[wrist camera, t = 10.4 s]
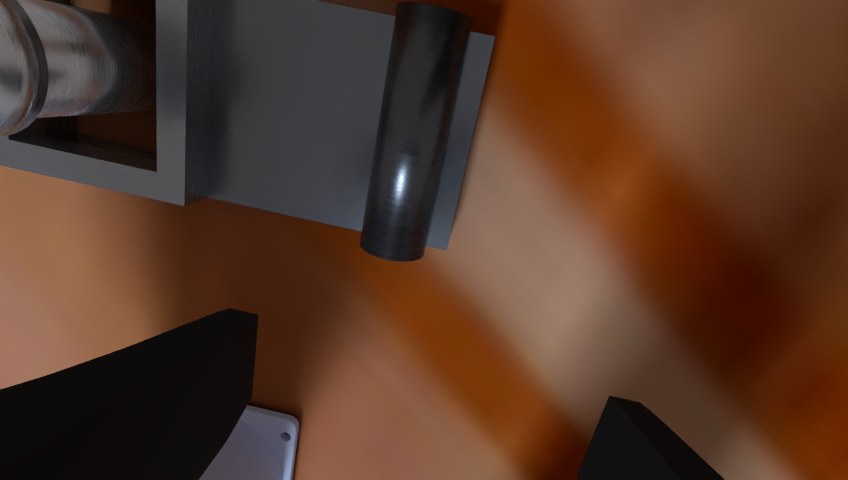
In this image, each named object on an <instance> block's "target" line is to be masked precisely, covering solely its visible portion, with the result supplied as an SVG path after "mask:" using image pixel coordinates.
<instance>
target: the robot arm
mask: <svg viewBox="0 0 848 480" xmlns="http://www.w3.org/2000/svg"><path fill="white" fill-rule="evenodd" d="M257 326H258V315H257V314H253V313H248V312H244V311H239V310H235V309H231V308H229V309H226V310H223V311H219V312H217V313H214V314H211V315H208V316H206V317H203V318H200V319H198V320H195V321H193V322H190V323H188V324H185V325H183V326H180V327H178V328H175V329H173V330H170V331H167V332H165V333H162V334H160V335H157V336H155V337H152V338H149V339H147V340H144V341H142V342H139V343H137V344H134V345H131V346H129V347H126V348H124V349H121V350H118V351H115V352H112V353H109V354H107V355H104V356H101V357H98V358H95V359H92V360H90V361H87V362H84V363H81V364H78V365H75V366H73V367H70V368H67V369H64V370H61V371H58V372H56V373H53V374H49V375H46V376H43V377H40V378H37V379H34V380H31V381H27V382H24V383H21V384H17V385H14V386H11V387H7V388H4V389H0V480H292V479H293V471H294V463H295V455H296V448H297V440H298V432H299V422H298V420H297V419H296V418H295V417H294V416H291V415H287V414H283V413H279V412H275V411H271V410H266V409H262V408H258V407H254V406H250V405H248V403H249V401H250V399H251V397H252V388H253V376H254V363H255V351H256V338H257ZM284 432H286V433H288V434H289V435H287V434H285V433H284ZM578 480H724V479H723V478H722V477H721V476H720V475H719V474H718V473H717V472H716V471H715V470H714V469H713V468H712V467H711V466H709V465H708V464H707V463H706V462H705V461H704V460H703V459H702V458H701V457H700V456H699V455H698V454H697V453H696V452H695V451H694V450H692V449H691V448H690V447H689V446H688V445H687V444H686V443H685V442H684V441H683V440H682V439H681V438H680V437H679V436H678V435H677V434H675V433H674V432H673V431H672V430H671V429H670V428H669V427H668V426H667V425H666V424H665V423H664V422H662V421H661V420H660V419H659V418H658V417H657V416H656V415H655V414H653V413H652V412H651V411H650V410H649V409H647V408H646V407H645V406H644V405H642V404H641V403H639V402H635V401H630V400H626V399H622V398H617V397H613V396H609V398H608V400H607V403H606V405H605V408H604V410H603V413H602V415H601V418H600V420H599V422H598V425H597V427H596V430H595V432H594V435H593V437H592V440H591V442H590V445H589V447H588V449H587V452H586V454H585V457H584V459H583V462H582V464H581V467H580V469H579V472H578Z"/></svg>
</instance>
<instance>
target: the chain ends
mask: <svg viewBox="0 0 848 480" xmlns="http://www.w3.org/2000/svg"><path fill="white" fill-rule="evenodd" d="M45 1H50V2H55V3H59V4H64V5H69V2H68V0H45ZM141 1H146V2H151V3H155V4H156V105H157V150H152V149H148V148H143V147H139V146H134V145H130V144H125V143H120V142H116V141H111V140H107V139H102V138H98V137H93V136H88V135H84V134H79V133H77V125H76V115H75V116H59V117H43V118H36V119H35V120H34V121H33V122H32V123H31V124H30V125H29V126H28V127H26V128H25V129H23V130H22V131H19V132H17V133H15V134H11V135H7V136H0V165H2V166H6V167H11V168H15V169H20V170H24V171H29V172H33V173H38V174H42V175H47V176H51V177H56V178H60V179H65V180H69V181H74V182H78V183H83V184H87V185H92V186H96V187H101V188H105V189H110V190H114V191H118V192H123V193H127V194H132V195H136V196H141V197H145V198H150V199H154V200H159V201H163V202H168V203H172V204H177V205H181V206H186V205H189V204H191V203H194V202H196V201H199V200H202V199H204V198H207V197H208V198H212V199H217V200H221V201H226V202H230V203H235V204H239V205H244V206H248V207H253V208H258V209H262V210H267V211H271V212H276V213H280V214H285V215H289V216H294V217H298V218H303V219H307V220H312V221H316V222H321V223H325V224H330V225H334V226H339V227H343V228H348V229H352V230H357V231H361V238H360V246H361V248H362V249H363V250H364V251H366V252H367V253H369V254H371V255H374V256H376V257H379V258H383V259H387V260H393V261H414V260H418V259H420V258H422V256H423V255H424V250H425V246H429V247H434V248H438V249H443V250H447V246H448V242H449V237H450V233H451V228H452V224H453V220H454V215H455V211H456V206H457V202H458V198H459V193H460V189H461V185H462V180H463V176H464V171H465V167H466V163H467V158H468V154H469V149H470V145H471V141H472V136H473V132H474V128H475V123H476V119H477V114H478V110H479V106H480V101H481V97H482V92H483V88H484V84H485V79H486V75H487V71H488V66H489V62H490V57H491V53H492V49H493V44H494V40H495V36H491V35H486V34H481V33H476V32H471V26H472V21H473V19H472V18H471V17H469V16H467V15H465V14H462V13H460V12H457V11H453V10H450V9H447V8H443V7H438V6H434V5H429V4H423V3H416V2H399V3H397V9H396V15H395V16H392V15H387V14H383V13H378V12H373V11H368V10H363V9H358V8H353V7H348V6H343V5H338V4H333V3H328V2H323V1H319V0H141Z"/></svg>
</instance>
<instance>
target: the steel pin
mask: <svg viewBox="0 0 848 480" xmlns="http://www.w3.org/2000/svg"><path fill="white" fill-rule="evenodd" d="M155 110H157V105H156V26H155V25H153V24H151V23H148V22H144V21H139V20H134V19H130V18H125V17H120V16H116V15H111V14H106V13H102V12H97V11H92V10H88V9H83V8H78V7H74V6H69V5H64V4H59V3H55V2H50V1H45V0H0V136H7V135H11V134H15V133H17V132H19V131H22V130H23V129H25V128H26V127H28V126H29V125H30V124H31V123H32V122H33V121H34V120H35V119H36V118H43V117H59V116H75V115H91V114H107V113H123V112H139V111H155Z"/></svg>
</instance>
